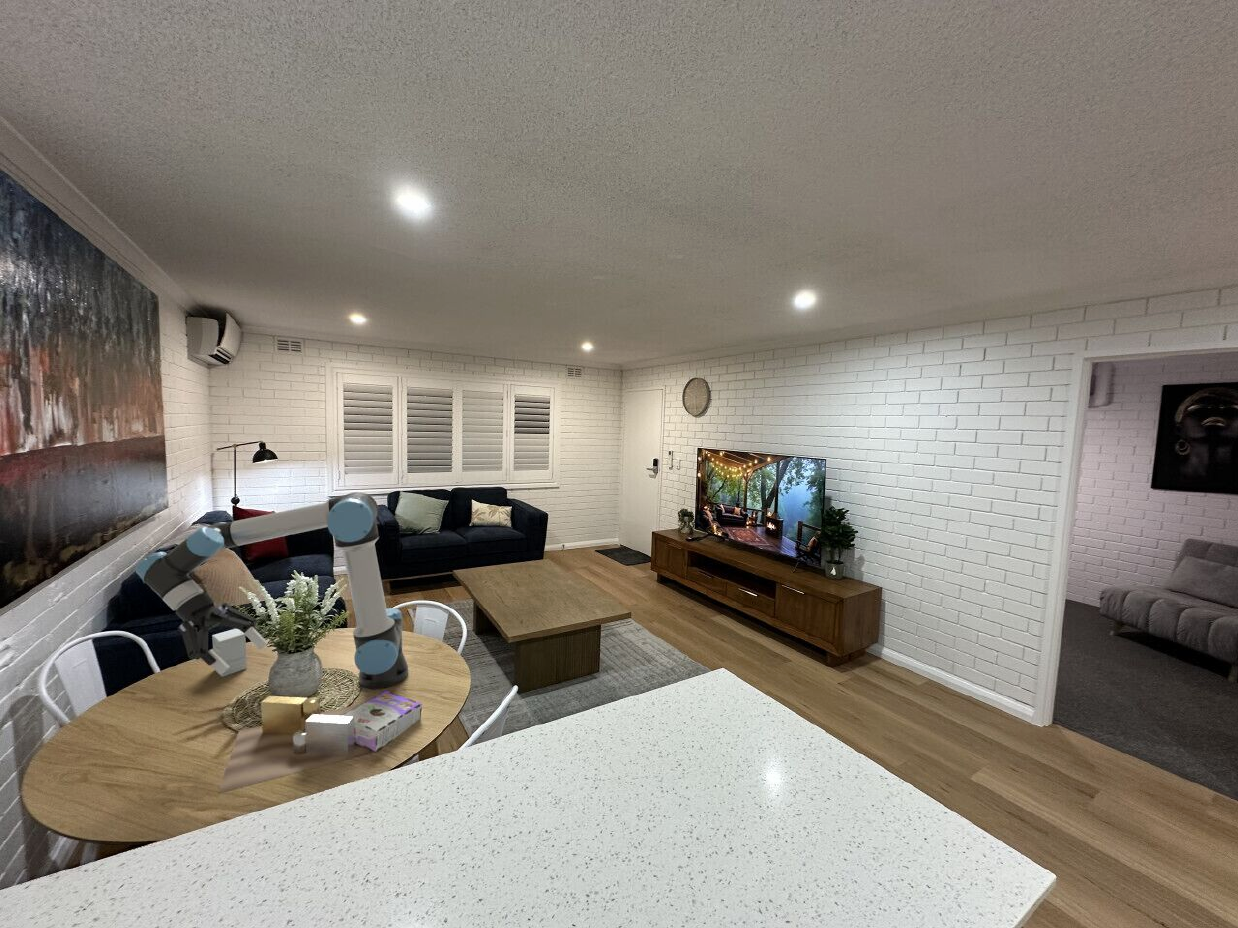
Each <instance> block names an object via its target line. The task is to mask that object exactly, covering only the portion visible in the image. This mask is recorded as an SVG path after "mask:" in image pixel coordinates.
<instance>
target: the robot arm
mask: <svg viewBox="0 0 1238 928" xmlns="http://www.w3.org/2000/svg"><path fill="white" fill-rule="evenodd" d="M378 515H379V506H378V502H377V501H376V500H375V499H374V497H373V496H372V495H370V494H368V493H366V492H361V491H360V492H359V491H354V492H351V493H347V494H345V495H340V496H336V497H332V498H328V499H327V500H326V502H323V503H319V504H318V503H317V504H314V505H313V504H312V505H308V506H304V507H298V508H294V509H288V510H284V511H277V512H273V513H267V514H264V515H263V514H262V515H260V516H255V517H254V516H253V517H249V518H248V517H247V518H245V519H239V520H234V521H228V522H224V521H223V522H222V521H220V522H216V523H213V524H210V525H209V526H207V527H205V526H203V527H202V526H201V527H200V528H198V529H197V530H195V531H194V532H192V533H190V534H189V535H188V536H187V538H185V539H184V540H183V541H181V542H180V543H179V544H178V545H176V546H175V547H174V548H173V549H172V550H171V551H169V552H168V553H167V552H165V551H158V552H154V553H152V554H150V555H149V556H147V557H145V558H143V559H141V561H140V562H138V564H137V565H136V566H135V573H136V574H137V575H138V576H139V578H140V579H141V580H142V582H143V584H146V586H148V587H149V588H150V589H151V590H152V591H153V592H154V593H156V594H157V595H158V596H159V598H160V599H161V600H162V601H163V602H164V603H165V604H166V605H167V606H168V607H169V608H170V609H172V611H175V614H176V615H177V616H178V617H179V618H180V619H181V620H182V621H183V622H182V623H181V624H180V625H179V626H178V627H177V630H178V631H179V633H180V634H181V636H182V639H183V643H184V646H185V649H186V652H187V656H188V659H190V660H193V659H195V660H200V659H201V660H202V661H203V662H204V663H205V664H206V665H208V666H209V667H212V668H213V669H215V670H216V671H217V672H218V673H219V674H220V675H221V674H223V673H224V672H225V671H226V670H227V669H228V668H229V667H230V666H229V665H228V664H227V663H226V662H225V661H224V660H223V659H222V658H221V657H220V656H219V655H218V654H217V653H216V652H215V651H214V650H213V648H211V649H209V631H210V630H211V629H213V628H214V629H215V628H216V627H218V626H219V627H221V626H224V627H229V628H230V629H231V628H232V629H239V630H240V631H242V632H243V633H244V634H245V637H247V638H248V639H249V640H250V641H251V643H253V645H255V646H256V648H257V649H258V650H262V649H263V648H264V647H266V646H267V644H268V643H269V642H268V641H267V640H266V639H265V638H264V637H263V636H262V634H261V632H260V631H259V630H258V629H257V628H256V627H255V625H256V622H257V621H258V620H257V619H256V618H255V617H252V615H249V614H246V613H244V612H242V611H240V610H238V609H236V608H234V607H232V606H231V605H230V604H229V603H227V602H223V603H222V605H220V606H219V607H217V606H215V604H214V600H213V599H212V598H211V597H210V595H208V593H206V592H204V589H203V588H202V587H201V586H200V585H198V583H197V582H195V580H193V579H192V578H191V576H190V574H191V573H192V572H194V571H195V570H196V569H197V568H198V567H200V566H201V565H202V564H204V563H205V562H206V561H207V560H209V559H210V558H212V557H213V556H215V555H216V554H217V553H219V552H221V551H223V550H227V549H230V548H236V547H239V546H243V545H249V544H254V543H258V542H263V541H267V540H273V539H277V538H281V537H286V536H290V535H296V534H300V533H301V534H302V533H305V532H311V531H315V530H318V529H319V530H320V529H323V528H327V529H328V531H329V534H331V535H332V536H333V540H334V545H335V548H337V549H339V550H341V551H342V554H343V558H344V559H343V560H344V564H345V571H346V575H347V578H348V579H347V580H348V584H349V589H350V594H351V600H352V605H353V609H354V616H355V621H356V627H355V628H353V630H352V636H353V639H354V640H353V641H354V645H355V653H354V656H353V657H354V658H353V659H354V664H355V666H356V668H357V669H358V670H359V673H358V683H359V685H360V686H361V687H363V688H365V689H366V688H367V689H371V690H375V689H383V688H384V689H385V688H389V687H391V686H395V685H397V684H399V683H401V682H403V681H404V680H405V679H406V678H407V676H408V675H409V665H408V663H407V660H406V658H405V655H404V653H403V616H402V615H403V614H402V610H400V609H398V608H392V607H387V605H386V599H385V593H384V588H383V582H382V578H381V571H380V566H379V562H378V556H377V551H376V545H375V544H376V542H377V541H378V540H379V538H380V535H379V530H378V524H377V517H378ZM250 622H251V623H253V625H252V624H251V623H250ZM194 629H195V630H194ZM215 670H214V671H215ZM216 671H215V672H216ZM217 672H216V673H217ZM218 673H217V674H218ZM219 674H218V675H219ZM220 675H219V676H220Z"/></svg>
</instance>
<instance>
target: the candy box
mask: <svg viewBox="0 0 1238 928" xmlns="http://www.w3.org/2000/svg"><path fill="white" fill-rule="evenodd" d="M361 704H362V705H360V706H358V707H356V708H354V709H352V710H351V711H349V712H347V713H345V714H344V715H342V716H352V717H354V743H356V744H359V745H361V746H364V747H366V748H368V749H371V750H372V752H373V751H374V752H377V751H379V750H380V749H382V748H383V747H384V746H386V745H388V744H389V743H390V742H392V741H393V740H394V739H396V738H398V736H400V735H401V734H403V732H405V731H406V730H408V729H409V728H410V727H411V726H413V725H414V724H415V723H417V722H418V721H419V720H420V719H421V717H422V709H423V704H422V703H420V702H419V701H414V700H413V699H409V698H407V697H405V696H402V695H398V694H396V693H393V692H390V691H388V690H385V691H383V692H381V693H379V694H378V695H376V696H374V697H372V698H371V699H368V700H367V701H365V702H363V703H361Z"/></svg>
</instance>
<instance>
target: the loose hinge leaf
mask: <svg viewBox="0 0 1238 928" xmlns="http://www.w3.org/2000/svg"><path fill="white" fill-rule="evenodd" d="M260 708H261V709H260V710H261V726H262V733H274V734H292V735H294V734H295V733H296V732H297V731H299V730H302V729H306V728H305V721H306V720H307V719H308V718H309V717H310V716H311V715H313V714H316V715H320V713H321V699H320V697H317V696H314V697H313V696H312V697H309V698H308V697H300V696H299V697H298V696H279V695H268V696H267V697H266V698H264V699H263V700H262V701H260Z"/></svg>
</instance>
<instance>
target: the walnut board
mask: <svg viewBox="0 0 1238 928" xmlns="http://www.w3.org/2000/svg"><path fill="white" fill-rule="evenodd" d="M362 704H363V703H359V704H354V705H351V706H345V707H344V706H343V707H340V708H336V709H331V710H328V711H322V712H320V715H334V716H342V715H344V714H345V713H347V712H349V711H351V710H352V709H354V708H356V707H358V706H360V705H362ZM354 746H355V748H354V750H353V751H352V752H351V753H350V755H349V756H335V755H318V754H306V753H304V754H301V755H296V754H294V748H293V735H292V734H274V733H262V725H257V726H254V727H249V728H244V729H240V730H238V733H237V735H236V739H235V741H234V745H233V747H232V751H231V754H230V757H229V760H228V763H227V766H226V768H225V771H224V775H223V777H222V780H221V783H220V787H219V790H218V792H217V794H222V793H225V792H229V791H233V790H237V789H241V788H244V787H248V786H252V785H255V784H261V783H263V782H268V781H271V780H274V779H278V778H283V777H286V776H290V775H293V774H294V775H295V774H298V773H301V772H305V771H309V770H313V769H317V768H320V767H324V766H328V765H332V764H336V763H339V762H342V761H347V760H351V759H355V758H359V757H362V756H366V755H370V754H373V750H371V749H368V748H366V747H364V746H361V745H359V744H356V743H354Z"/></svg>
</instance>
